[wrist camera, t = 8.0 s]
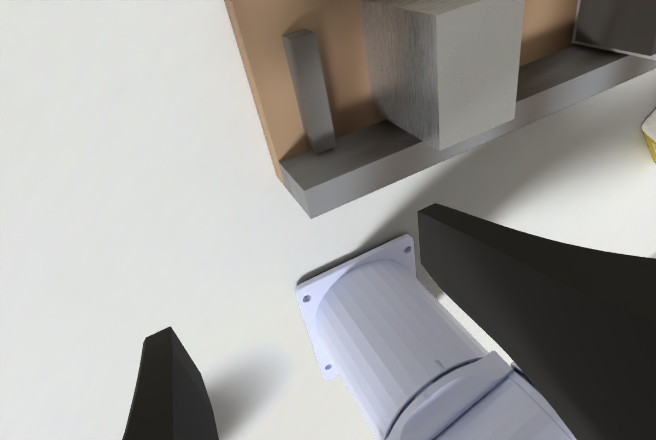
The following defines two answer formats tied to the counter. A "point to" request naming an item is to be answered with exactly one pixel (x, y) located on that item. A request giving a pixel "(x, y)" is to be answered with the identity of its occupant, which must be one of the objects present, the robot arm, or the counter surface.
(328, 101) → the rail
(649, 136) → the juice carton
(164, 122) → the counter surface
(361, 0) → the matte gray brick
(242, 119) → the counter surface
